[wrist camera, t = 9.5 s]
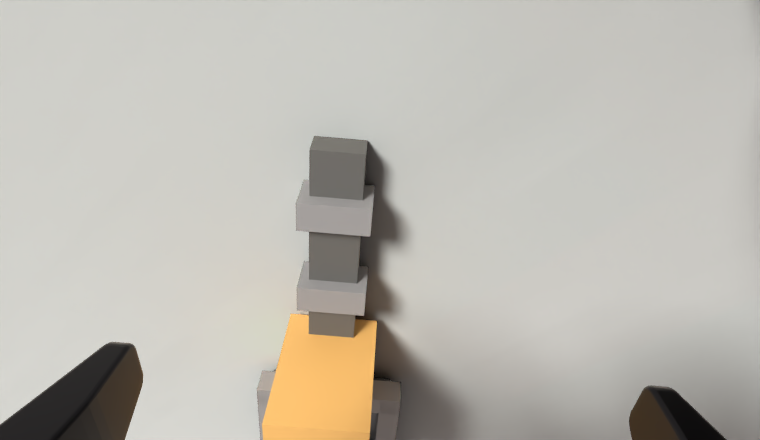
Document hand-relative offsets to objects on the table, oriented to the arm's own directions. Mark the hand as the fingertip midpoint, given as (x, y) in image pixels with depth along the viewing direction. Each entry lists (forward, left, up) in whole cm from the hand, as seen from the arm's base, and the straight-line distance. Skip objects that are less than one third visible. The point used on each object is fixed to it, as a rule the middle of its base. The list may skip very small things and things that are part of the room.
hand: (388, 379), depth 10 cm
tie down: (+2, +12, -12) cm, 17 cm away
